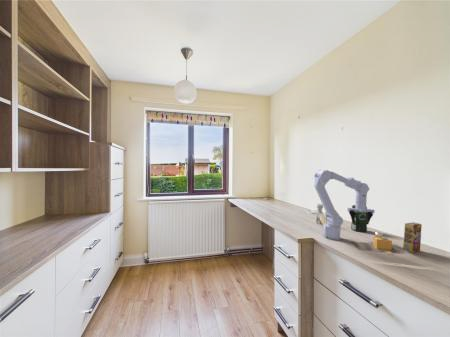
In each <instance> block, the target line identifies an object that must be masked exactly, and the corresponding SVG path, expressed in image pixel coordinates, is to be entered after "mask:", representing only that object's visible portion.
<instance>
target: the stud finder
mask: <svg viewBox="0 0 450 337" xmlns="http://www.w3.org/2000/svg"><path fill="white" fill-rule="evenodd" d="M373 242H374V244H373V246H374V247H375V248H377V249H386V250H392V248H393V247H392V245H393V240H391V239H390V238H388V237H387V238H385V237H382V238H378V237H375V236H374V237H373Z"/></svg>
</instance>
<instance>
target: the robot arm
mask: <svg viewBox="0 0 450 337" xmlns="http://www.w3.org/2000/svg"><path fill="white" fill-rule="evenodd" d="M313 177H314V189H315V192H316V193H317V194H318V197H319V199H320V202H321V204H322V205H323V208H324V210H325V213H324V214H325V218H326V220H327V221H328V224H324V226H323V225H322V227H323V230H322V231H323V232H322V235H323V236H322V237H323V238H324V239H331V240H341V227H342V225H343V223H344V219H343V217H342V216H340V214H339V212H338V211H337V210H336V208H335V207H334V205H333V203H332V200H331V198H330V196H329V194H328V191H327V190H326V185H327V183H328V182H329V181H330V180H335V181H338V182H340V183H344V186H345V187H347V188H350V189H351V190H354V191H355V204H354V205H355V208H352V207H347V208H346V209H347V212H348V213H349V215H350V219H351V224H352V223H355V214H356V213H355V212H366V224H367V226H368V225H369V224H370V221H371V218H372V217H373V216H374V214H375V211H376V210H375V209H371V208H367V209H366V207H367V198H368V197H367V196H368V192H369V191H370V187H369V185H368V184H367V183H364V182H361V180H356V179H355V178H354V177H345V176H342V175H340V174H338V173H336V172H334V171H331V170H321V169H320V170H319V169H318V170H317V171H316V172H315V174H314V176H313Z"/></svg>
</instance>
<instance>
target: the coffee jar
mask: <svg viewBox="0 0 450 337" xmlns="http://www.w3.org/2000/svg"><path fill="white" fill-rule="evenodd" d="M355 205H356V204H353V205H351V208H355ZM366 209H368V207H367V206H366ZM355 213H356V214H355V223H352V222H351V225H350V228H351V230H352V231H354V232H355V231H356V232H368V225H367V224H366V212H355Z"/></svg>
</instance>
